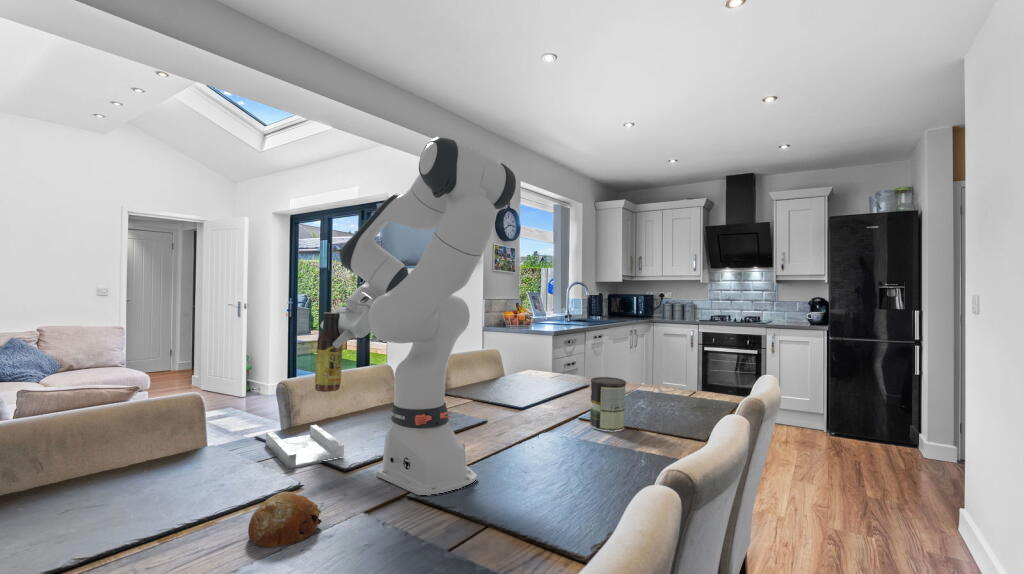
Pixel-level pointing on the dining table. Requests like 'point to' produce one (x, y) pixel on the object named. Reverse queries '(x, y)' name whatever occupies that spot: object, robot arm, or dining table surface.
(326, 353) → the sauce bottle
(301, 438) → the track
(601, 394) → the coffee can
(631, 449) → the dining table surface
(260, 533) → the bread roll
